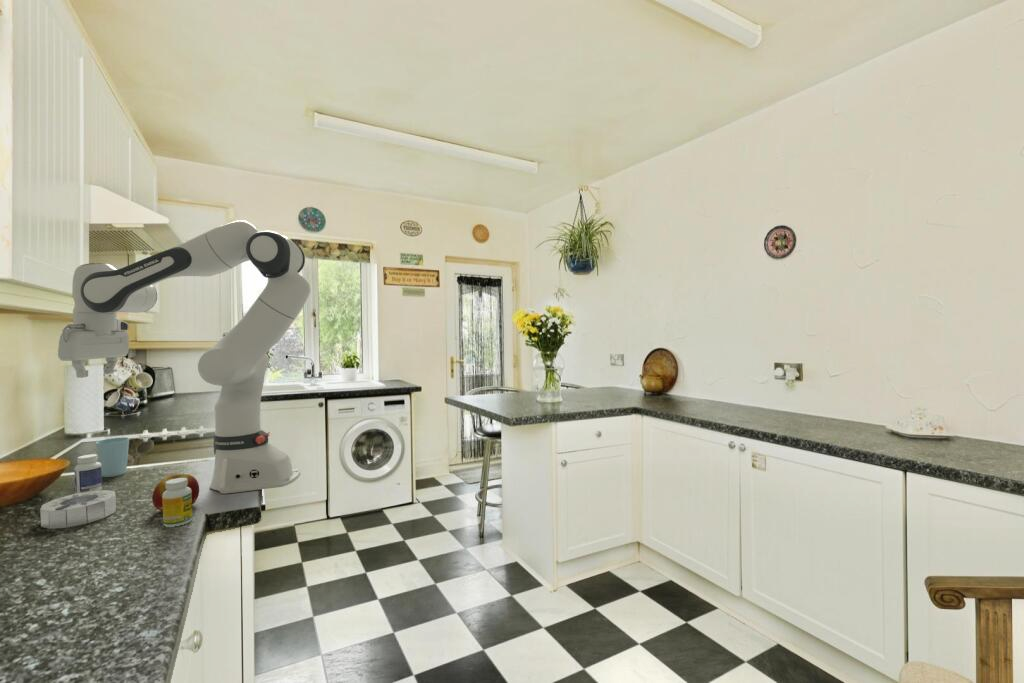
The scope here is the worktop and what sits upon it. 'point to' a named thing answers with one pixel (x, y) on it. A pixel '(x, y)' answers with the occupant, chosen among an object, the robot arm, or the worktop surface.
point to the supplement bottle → (177, 503)
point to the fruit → (161, 489)
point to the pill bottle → (88, 474)
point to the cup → (113, 456)
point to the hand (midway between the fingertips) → (96, 375)
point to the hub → (77, 509)
